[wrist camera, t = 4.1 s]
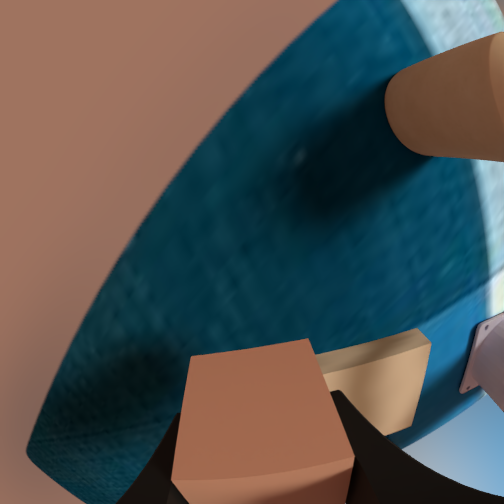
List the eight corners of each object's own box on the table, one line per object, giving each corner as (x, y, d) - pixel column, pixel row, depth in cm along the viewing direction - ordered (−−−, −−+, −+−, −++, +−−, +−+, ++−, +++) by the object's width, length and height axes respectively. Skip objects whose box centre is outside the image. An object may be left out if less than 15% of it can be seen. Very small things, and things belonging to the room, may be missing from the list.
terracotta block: (308, 338, 10) (354, 456, 5) (312, 414, 11) (342, 515, 6) (191, 356, 10) (171, 480, 5) (216, 428, 11) (214, 532, 6)
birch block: (414, 324, 19) (431, 342, 17) (399, 407, 22) (411, 425, 20) (294, 355, 19) (302, 379, 17) (302, 434, 22) (307, 456, 19)
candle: (394, 161, 15) (536, 179, 6) (372, 69, 14) (495, 9, 4) (460, 151, 15) (586, 165, 6) (441, 69, 14) (560, 40, 4)
